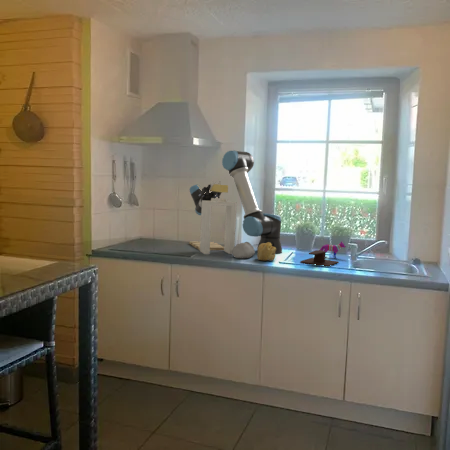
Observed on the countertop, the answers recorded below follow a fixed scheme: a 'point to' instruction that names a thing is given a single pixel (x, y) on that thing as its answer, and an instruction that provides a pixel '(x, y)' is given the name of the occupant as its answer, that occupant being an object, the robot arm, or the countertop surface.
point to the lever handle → (318, 259)
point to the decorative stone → (243, 250)
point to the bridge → (229, 224)
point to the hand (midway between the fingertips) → (216, 183)
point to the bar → (220, 188)
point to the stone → (266, 252)
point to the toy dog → (332, 248)
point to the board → (212, 245)
